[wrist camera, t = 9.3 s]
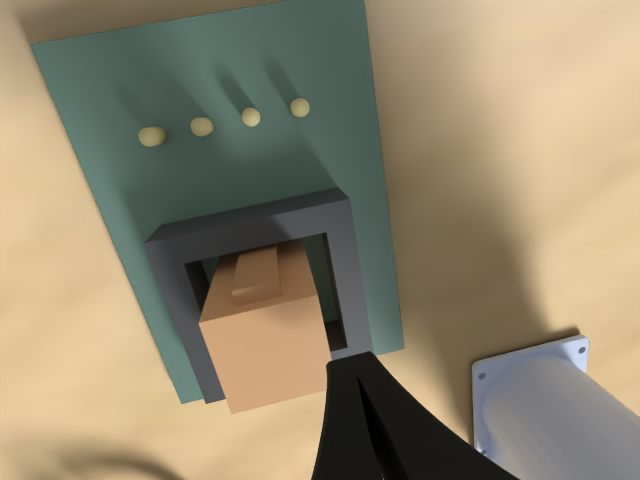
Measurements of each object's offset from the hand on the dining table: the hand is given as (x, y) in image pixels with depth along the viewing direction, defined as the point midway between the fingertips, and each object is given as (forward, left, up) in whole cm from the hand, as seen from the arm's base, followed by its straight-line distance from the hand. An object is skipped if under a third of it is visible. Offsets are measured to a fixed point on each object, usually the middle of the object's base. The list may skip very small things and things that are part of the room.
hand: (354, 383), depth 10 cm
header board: (+3, +2, -9) cm, 10 cm away
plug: (0, +2, -8) cm, 9 cm away
